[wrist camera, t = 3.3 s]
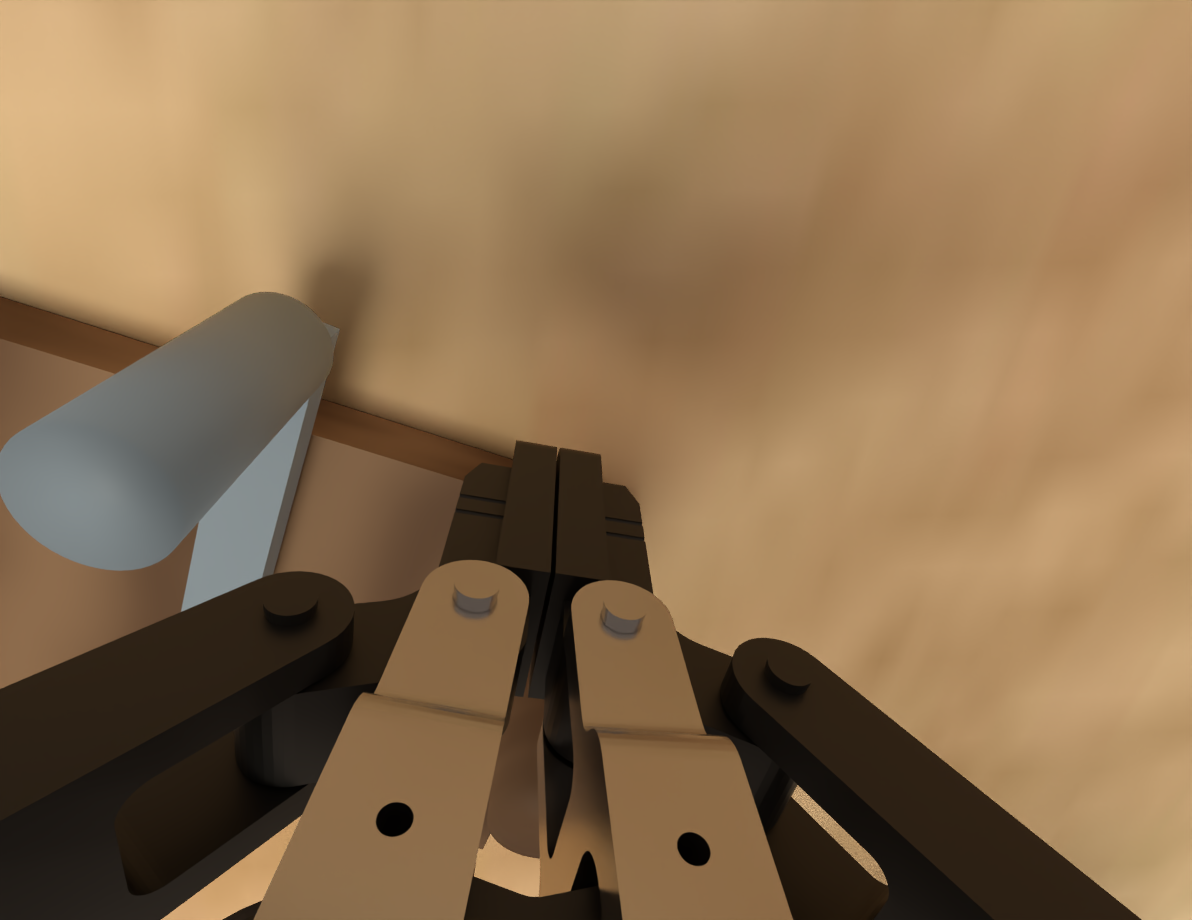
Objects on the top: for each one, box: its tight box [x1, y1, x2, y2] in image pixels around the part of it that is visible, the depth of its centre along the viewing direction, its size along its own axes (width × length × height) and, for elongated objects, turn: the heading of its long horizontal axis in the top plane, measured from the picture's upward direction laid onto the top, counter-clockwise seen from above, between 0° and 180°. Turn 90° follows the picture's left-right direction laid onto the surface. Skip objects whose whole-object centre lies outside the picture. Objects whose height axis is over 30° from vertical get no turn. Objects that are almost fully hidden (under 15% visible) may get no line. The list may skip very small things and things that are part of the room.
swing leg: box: [0, 292, 340, 612], centre depth 16 cm, size 18×3×8 cm, turn 156°
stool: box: [0, 297, 544, 876], centre depth 18 cm, size 24×16×10 cm, turn 69°
